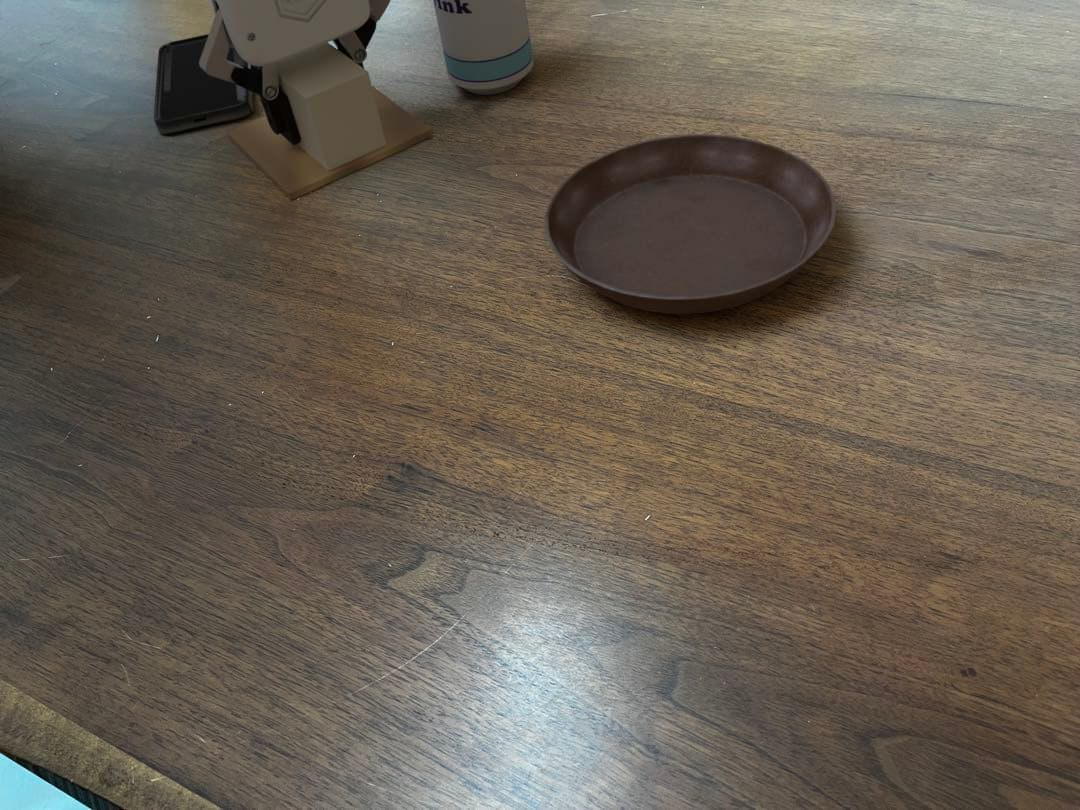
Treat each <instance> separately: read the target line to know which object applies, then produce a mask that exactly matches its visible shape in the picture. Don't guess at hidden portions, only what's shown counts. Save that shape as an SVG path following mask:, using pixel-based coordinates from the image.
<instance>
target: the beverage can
mask: <svg viewBox="0 0 1080 810" xmlns="http://www.w3.org/2000/svg"><path fill="white" fill-rule="evenodd" d="M432 3H433V7H434V11H435V17H436V22H437V26H438V31H439V38H440V41H441V47H442V51H443V57H444V62H445V66H446V71H447V77H448V78H449V81H450V82H451V83H453V84H454V85H455V86H457V87H459V88H463V89H465V90H466V91H468V92H470V93H471V94H476V95H481V96H482V95H483V96H485V95H496V94H500V93H504V92H507V91H509V90H510V89H513V88H514V87H516V86H517V85H518V84H519V83H520V82H521V81H522V79H523V78H525V77H526V76H527V75H528V74H530V72H531V71H532V69H533V67H534V55H533V49H532V41H531V34H530V27H529V19H528V13H527V12H528V11H527V6H526V0H432Z"/></svg>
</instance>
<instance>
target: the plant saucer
mask: <svg viewBox="0 0 1080 810" xmlns="http://www.w3.org/2000/svg"><path fill="white" fill-rule="evenodd" d="M836 215H837V205H836V198H835V196H834V192H833V190H832V188H831V186H830V185H829V183H828V181H827V180H826V178H825V177H824V176H823V175H822V174H821V173H820V172H819V171H818V170H817V169H816V168H814V167H813V166H812V165H811V164H809V162H807V161H805V160H804V159H802V158H801V157H799V156H798V155H796V154H793V153H791V152H790V151H788V150H786V149H783V148H781V147H779V146H776V145H773V144H770V143H765V142H764V141H763V142H762V141H760V140H757V139H756V140H755V139H751V138H747V137H741V136H735V135H727V134H726V135H723V134H709V133H708V134H707V133H706V134H705V133H704V134H703V133H701V134H697V133H695V134H680V135H679V134H678V135H670V136H661V137H656V138H652V139H647V140H644V141H640V142H634V143H632V144H629V145H628V144H627V145H625V146H622V147H619V148H616V149H614V150H612V151H608V152H607V153H604V154H602V155H600V156H599V157H596V158H595V159H592V160H591V161H590V162H587V163H585V164H584V165H582V166H581V167H580V168H578V169H577V170H575V172H573V173H571V175H569V176H568V177H567V178H566V179H565V180H564V181H563V182H562V183H561V184H560V185H559V187H558V188H557V189H556V191H555V192H554V193H553V195H552V196H551V198H550V200H549V201H548V205H547V207H546V210H545V214H544V232H545V237H546V240H547V243H548V245H549V247H550V249H551V250H552V252H553V254H554V255H555V256H556V258H557V259H558V260H559V261H560V262H561V263H562V264H563V266H564V267H565V268H566V269H567V270H568V271H569V272H570V273H571V274H572V275H574V277H576V278H577V279H578V280H579V281H581V282H582V283H583V284H585V285H587V286H588V287H589V288H591V289H593V290H594V291H596V292H597V293H599V294H601V295H603V296H605V297H607V298H609V299H610V300H613V301H614V302H617V303H619V304H622V305H623V306H627V307H629V308H630V307H631V308H634V309H638V310H642V311H647V312H653V313H659V314H669V315H670V314H671V315H694V314H695V315H696V314H705V313H712V312H717V311H723V310H728V309H731V308H735V307H738V306H742V305H744V304H747V303H750V302H753V301H755V300H758V299H759V298H762V297H764V296H765V295H767V294H770V293H771V292H773V291H774V290H776V289H777V288H778V287H780V286H782V285H783V284H785V283H786V282H787V281H788V280H790V279H792V278H793V277H794V276H795V275H796V274H797V273H798V272H799V271H801V270H802V269H803V268H804V267H805V266H806V265H807V264H808V263H809V262H810V261H811V260H812V258H813V257H815V255H816V254H817V253H818V252H819V251H820V249H821V248H822V247H823V246H824V244H825V243H826V242H827V240H828V238H829V236H830V235H831V233H832V231H833V228H834V225H835V222H836Z"/></svg>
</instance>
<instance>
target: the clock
mask: <svg viewBox="0 0 1080 810" xmlns="http://www.w3.org/2000/svg"><path fill="white" fill-rule="evenodd" d="M279 86H280V89H281V91H282V92H283V93H284V94H285V95H286V96H287V97H288V99H289V102H290V105H291V109H292V112H293V115H294V118H295V121H296V124H297V128H298V131H299V134H300V137H301V141H300V143H299V144H298V145H299V146H300V147H301V148H303V149H304V150H305V151H306V152H307V153H308V154H309V155H310V156H311V157H313V158H314V159H315V160H316V161H317V162H318V163H319V164H320V165H321V166H323V167H324V168H325V169H326V170H327V171H331V170H333V169H335V168H337V167H340V166H342V165H344V164H346V163H348V162H351V161H353V160H355V159H357V158H360V157H362V156H364V155H366V154H368V153H371V152H373V151H375V150H377V149H380V148H382V147H384V146H386V145H387V144H386V140H385V136H384V132H383V128H382V124H381V120H380V116H379V112H378V108H377V104H376V101H375V97H374V93H373V89H372V86H373V85H372V81H371V77H370V73H369V71H368V70H366V69H365V67H364V68H362V67H361V66H359V65H358V64H357V63H355V62H354V61H353V60H351V59H350V58H348V57H347V56H346V55H344V54H343V53H342V52H340V51H339V50H337V47H336V46H334V45H332V44H331V43H329V42H327V43H325V44H322V45H320V46H317V47H315V48H313V49H310V50H308V51H305V52H303V53H300V54H298V55H295V56H293V57H290V58H288V59H285V60H282V61H280V62H279Z"/></svg>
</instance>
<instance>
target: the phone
mask: <svg viewBox="0 0 1080 810" xmlns="http://www.w3.org/2000/svg"><path fill="white" fill-rule="evenodd" d="M208 35H209V33H206V34H203V35H197V36H192V37H188V38H183V39H179V40H174V41H170V42H167V43H164V44H163V45H161V46H160V47H159V48H158V55H157V67H156V68H157V69H156V78H155V79H156V80H155V92H154V93H155V95H154V106H153V122H154V124H155V126H156V128H157V130H158V133H160V134H161V135H173V134H178V133H182V132H188V131H191V130H196V129H200V128H205V127H210V126H214V125H219V124H222V123H223V124H224V123H227V122H231V121H237V120H240V119H244V118H246V117H249V115H251V114H252V112H253V111H254V103H253V92H252V91H249V90H247V89H245V88H243V87H240V86H238V85H237V84H235V83H232V82H228V81H225V80H222V79H219V78H216V77H213V76H210V75H208V74H207V73H206V72H205V71H204V70H202V69H201V67H200V65H199V61H200V58H201V55H202V52H203V50H204V47H205V44H206V41H207V38H208ZM227 60H228V61H230V62H236V63H238V64H241V65H243V66H245V67H247V68H248V63H247V62H246V61H244V60H243V59H242V58H241V57H240V56H239V54H238V52H237V51H236V49H234V48H230V49H229V52H228V55H227Z"/></svg>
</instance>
